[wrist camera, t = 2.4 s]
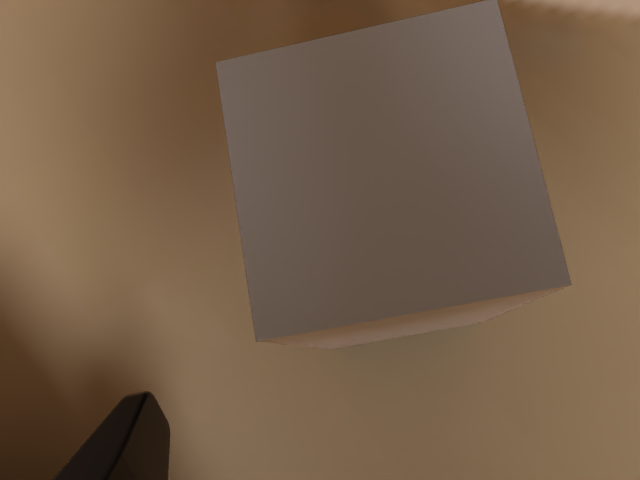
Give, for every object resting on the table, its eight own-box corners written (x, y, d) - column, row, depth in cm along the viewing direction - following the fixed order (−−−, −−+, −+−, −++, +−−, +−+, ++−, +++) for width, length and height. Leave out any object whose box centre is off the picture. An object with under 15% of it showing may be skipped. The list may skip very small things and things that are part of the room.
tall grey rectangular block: (479, 323, 20) (571, 284, 9) (332, 349, 20) (256, 341, 10) (447, 181, 21) (496, -3, 10) (308, 209, 21) (215, 62, 11)
